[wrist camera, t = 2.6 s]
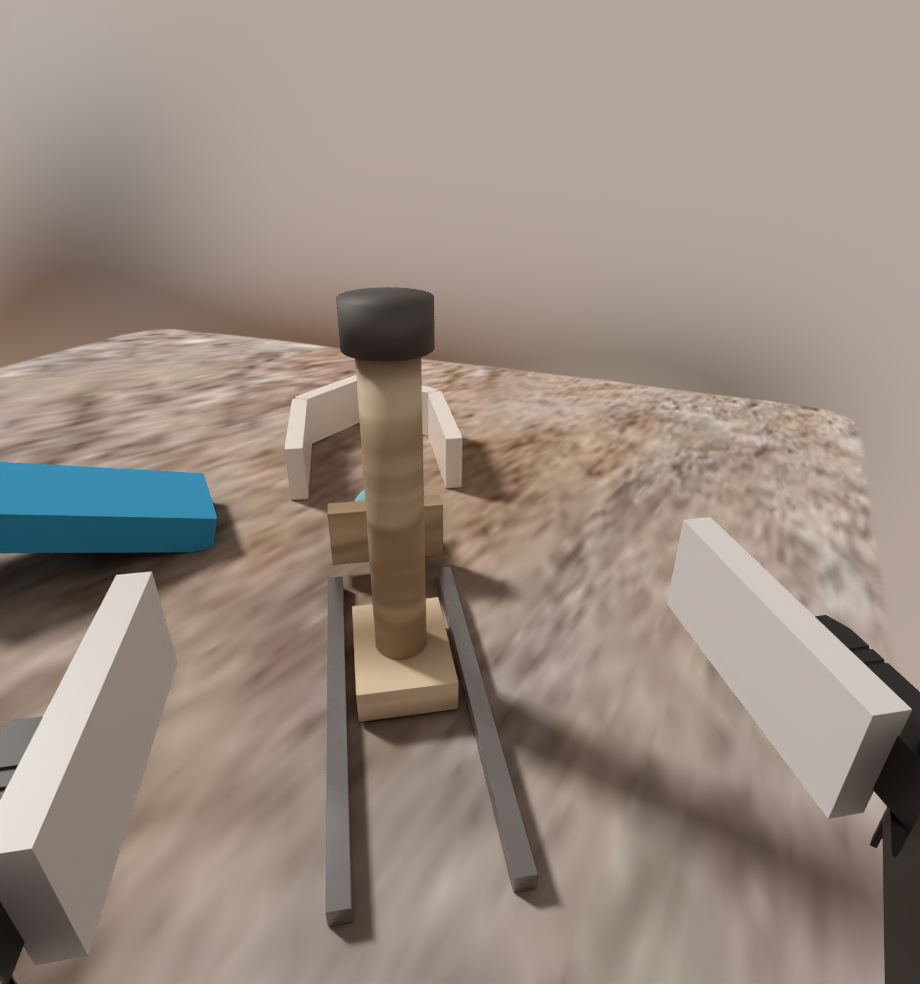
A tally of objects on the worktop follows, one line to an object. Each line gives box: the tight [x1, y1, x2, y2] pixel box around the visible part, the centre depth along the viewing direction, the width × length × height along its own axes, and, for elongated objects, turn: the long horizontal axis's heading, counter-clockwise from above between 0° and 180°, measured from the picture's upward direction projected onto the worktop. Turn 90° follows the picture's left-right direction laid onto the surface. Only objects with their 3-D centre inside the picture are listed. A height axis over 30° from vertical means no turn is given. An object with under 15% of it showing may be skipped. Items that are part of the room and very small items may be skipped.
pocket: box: [284, 375, 462, 500], centre depth 52 cm, size 16×12×4 cm
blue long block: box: [0, 462, 217, 553], centre depth 38 cm, size 7×7×18 cm
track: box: [326, 566, 538, 926], centre depth 28 cm, size 18×7×1 cm, turn 10°
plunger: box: [328, 287, 458, 722], centre depth 29 cm, size 12×6×17 cm, turn 10°
